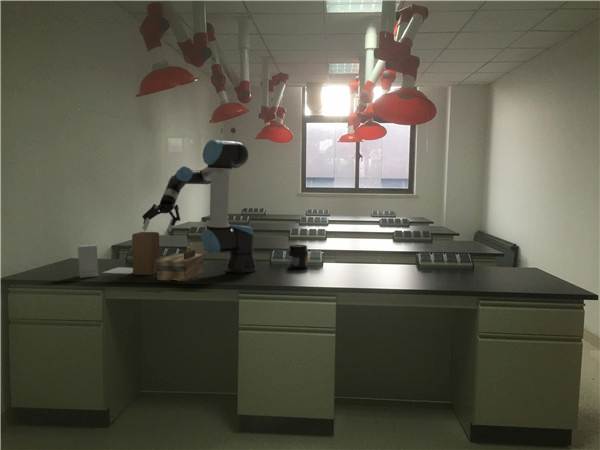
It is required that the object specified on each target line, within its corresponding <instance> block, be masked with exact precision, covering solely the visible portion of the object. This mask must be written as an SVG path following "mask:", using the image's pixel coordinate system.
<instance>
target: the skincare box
mask: <svg viewBox="0 0 600 450" xmlns="http://www.w3.org/2000/svg"><path fill="white" fill-rule="evenodd" d="M97 246H98V245H97V244H96V243H92V244H91V243H90V244H82V245H79V244H77V255H78V257H77V259H78V272H79V273H78V274H79V278H80V279H81V278H83V279H84V278H92V277H99V264H98V263H99V262H98V261H99V260H98V247H97Z"/></svg>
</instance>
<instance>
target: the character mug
mask: <svg viewBox="0 0 600 450" xmlns="http://www.w3.org/2000/svg"><path fill="white" fill-rule="evenodd" d="M190 250H195V254H203V255H204V254H207V253H208V252H207V251H206V250H205V248H204V247H203V244H202V241H201V242H195V241H193V242H190V243H189V245H187V246H186V252H187V251H190Z"/></svg>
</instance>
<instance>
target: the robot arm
mask: <svg viewBox="0 0 600 450" xmlns="http://www.w3.org/2000/svg"><path fill="white" fill-rule="evenodd" d="M248 159H249V151H248V148H247V147H246V146H245V145H244V143H242V142H239V141H235V140H234V141H233V140H232V141H231V140H223V139H211V140H209V141H207V142H206V144H205V145H204V147H203V150H202V160H203V162H204V163H205V164H206V165H207V166H206V167H204V168H202V169H201V170H192V169H191V168H190V167H188V166H184V165H183V166H181V167H180V168H179V169H177V170H176V173H175V174H174V175H171V177H170V178H169V179H168V182H167V186H166V187H165V190H164V191H163V194H162V197H161V199H160V202H159V204H158V205H157V204H155V203H154V204H153V205H152V206H151V207H150V208H149V209H148V210H147V211H145V213H144V214H143V215H142V219H143V223H142V224H143V225H142V229H143V232H147V228H148V226H149V224H150V222H151V220H152V219H153V218H155V217H156V216H158V215H160V214H169V215H170V216H171V217H170V218H171V219H170V222H169V224H168V226H167V230H168V232H169V233H170V232H171V231H172V229H173V227H174V226H176V223H177V222H180V221H181V216H180V212H179V209H180V208H179V205H178V204H176V203H177V199H178V197H179V194H180V193H181V190H182V189H183V188H184V187H185V185H210V193H209V194H210V201H209V202H210V203H209V222H208V223H206V229H204V230H203V231H202V233H201V235H200V237H201V238H200V239H201V243H202V244H203V247H204V251H205V250H206V251H207V253H208V254H220V253H221V254H222V253H229V257H228V260H227V264H226V272H228V273H232V272H233V273H232V274H246V272H249V273H253V272H256V271H257V264H256V260H255V257H254V229H253V228H252V227H251V226H247V225H246V226H245V225H236V224H230V223H229V183H230V182H229V181H230V177H229V176H230V172H231V171H232V170H233V169H238V168H241V167H242V166H244V165H245V164H246V163H247V162H248ZM173 210H174V211H175V215H174V213H173V212H172V211H173Z"/></svg>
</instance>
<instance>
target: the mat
mask: <svg viewBox="0 0 600 450" xmlns="http://www.w3.org/2000/svg"><path fill="white" fill-rule="evenodd" d="M102 274H109V275H111V274H113V275H115V274H116V275H131V274H133V267H120V266H119V267H115V268H112V269H109V270H106V271H102Z"/></svg>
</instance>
